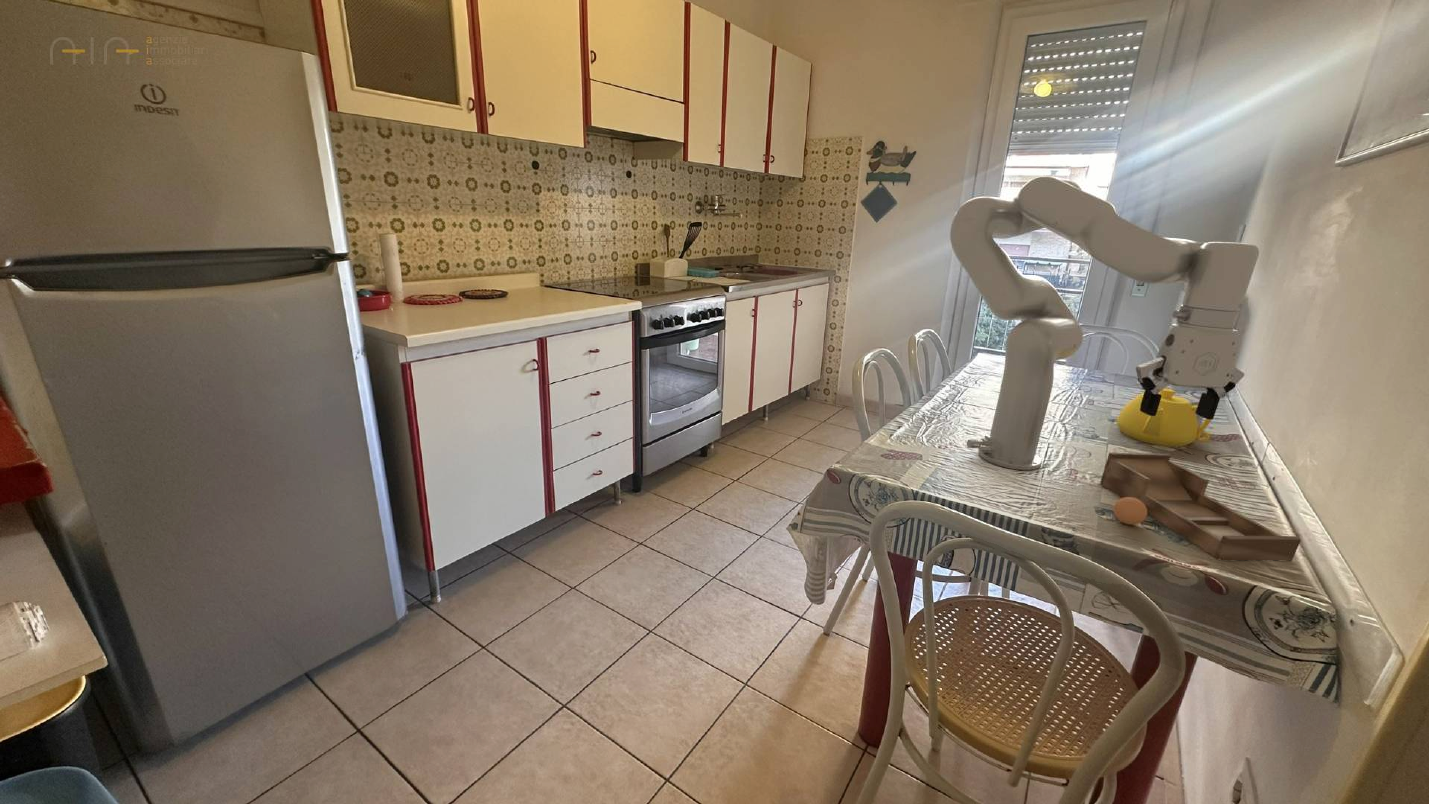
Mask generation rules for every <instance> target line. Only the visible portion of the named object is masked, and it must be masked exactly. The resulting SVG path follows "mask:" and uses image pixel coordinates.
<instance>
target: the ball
mask: <svg viewBox="0 0 1429 804" xmlns="http://www.w3.org/2000/svg"><path fill="white" fill-rule="evenodd" d="M1113 513H1114V516H1115V518H1116V519H1118V521H1120V522H1122V523H1123V524H1125V525H1130V526H1131V525H1133V526H1134V525H1138V524H1141V523H1142V522H1144V521H1145V520H1146V518H1147V516H1148V514H1147V508H1146V506H1145V505H1144V504H1143V502H1141V501H1140V500H1138V499H1136V498H1133V497H1125V498H1121V497H1120V498H1119V499H1118V500H1117V501H1116V502H1115V503H1114V505H1113Z"/></svg>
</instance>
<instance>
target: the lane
mask: <svg viewBox="0 0 1429 804" xmlns="http://www.w3.org/2000/svg"><path fill="white" fill-rule="evenodd" d="M1170 458H1171V455H1170V454H1169V453H1150V452H1149V453H1147V452H1146V453H1145V452H1108V456H1107V458H1106V463H1105V465H1104V469H1103V472H1102V475H1101V479H1100V482H1099V485H1101V486H1103V487H1105V489H1107V490H1109V491H1111V492H1112V493H1113V494H1115V495H1117V496H1118V497H1120V499H1121V498H1125V497H1133V498H1136V499H1138V500H1140V501H1141V502H1143V504H1144V505H1145V506H1146V508H1147V516H1149V517H1151V518H1153V520H1156V521H1157V522H1159V523H1160V524H1162V525H1163V526H1164V527H1166V528H1168V529H1170V530H1172V531H1173V532H1175V533H1176V534H1178V535H1179V536H1180V537H1182V536H1183V537H1182V538H1184V539H1185V540H1187V539H1188V541H1189V542H1190V541H1191V542H1190V543H1192V542H1193V543H1194V544H1193V543H1192V544H1193V545H1195V544H1196V545H1198V546H1199V547H1198V546H1197V547H1198V548H1199V549H1201V548H1202V549H1201V550H1203V551H1204V552H1206V553H1207V554H1209V553H1210V554H1211V556H1212V557H1213V558H1215V557H1216V559H1217V560H1218V559H1220V560H1292V561H1293V559H1294V557H1295V555H1296V552H1297V550H1298V548H1299V546H1300V543H1301V541H1302V539H1301V538H1299V537H1297V536H1295V535H1281V534H1280V533H1277V532H1275V531H1274V530H1272V529H1270V528H1268V527H1266V526H1264V525H1262V524H1261V523H1260V522H1259V523H1258V522H1257V521H1255V520H1253V519H1251V518H1249V517H1247V516H1245V515H1243V514H1242V513H1240V512H1239V511H1236V510H1234V509H1232V508H1230V507H1228V506H1226V505H1224V503H1221V502H1219V501H1217V500H1215V499H1214V498H1211V497H1209V496H1208V495H1205V492H1206V490H1207V487H1208V484H1209V481H1210V479H1208V478H1207V477H1204V476H1203V475H1200V474H1198V473H1196V472H1194V471H1192V470H1189V469H1188V468H1186V467H1184V466H1182V465H1181V464H1178V463H1176V462H1174V461H1172V460H1170ZM1196 545H1195V546H1196ZM1210 554H1209V555H1210ZM1220 560H1219V561H1220Z"/></svg>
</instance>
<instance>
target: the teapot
mask: <svg viewBox="0 0 1429 804" xmlns="http://www.w3.org/2000/svg"><path fill="white" fill-rule="evenodd" d="M1144 392H1145V391H1143V392H1142V393H1140V394H1138V395H1137V396H1136V397H1134V398H1133V399H1132V400H1130V401H1129V402H1128V403H1127V404H1126V405H1125V406H1124V407H1123V408H1122V409H1121V411H1120V412H1119V414H1118V417H1117V418H1116V424H1117V426H1118V428H1119V429H1120V431H1121V433H1123V434H1124V435H1126V436H1127V437H1129V438H1132V439H1134V440H1137V441H1139V442H1144V443H1147V444H1152V445H1157V446H1163V447H1170V448H1171V447H1172V448H1182V447H1184V446H1187V445H1190V444H1191V443H1193V442H1195V441H1198V442H1201V443H1202V442H1203V443H1204V442H1205V443H1206V442H1207V441H1209V440H1210V438H1211V435H1210V433H1209V432H1208V431H1205V429H1207V427H1208V426H1209V425H1210V423H1211V422H1212V420H1210V419H1206V418H1204V419H1205V420H1204V421H1203V422H1202V423H1201V425H1200V427H1199V429H1198V422H1197V418H1196V415H1195V412H1194V410H1197V407H1198V405H1196V406H1192V405H1191V404H1190V402H1189V401H1188V400H1186V399H1184V398H1181V397H1178V396H1174V394H1175V393H1177V391H1175V390H1174V389H1171V388H1170V389H1169V388H1167V387H1165V388H1164V389H1163V390H1162V391H1160V392H1159V393H1158V394H1161V396H1162V397H1161V400H1160V404H1159V407H1158V410H1157V413H1156V415H1155V416H1150V415H1147V414H1145V413H1143V412H1141V411H1140V408H1141V402H1142V399H1143V395H1144ZM1201 435H1205V436H1203V437H1201Z"/></svg>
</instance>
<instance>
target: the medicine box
mask: <svg viewBox="0 0 1429 804" xmlns="http://www.w3.org/2000/svg"><path fill="white" fill-rule="evenodd" d="M1174 396H1178V397H1181V398H1184V399H1186V400H1188V401H1189V402H1190V404H1191V405H1192V406H1196V405H1198V404H1199V401H1200V398H1199V399H1198V398H1197V397H1193V395H1192V396H1190V395H1189V394H1185V393H1177V392H1176V393H1175V394H1174ZM1194 412H1195V415H1196V418H1197V422H1198V429H1199V427H1200V426H1201V425H1202V423H1203V419H1204V417H1201V416H1199V415H1197V414H1196V410H1194Z"/></svg>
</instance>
